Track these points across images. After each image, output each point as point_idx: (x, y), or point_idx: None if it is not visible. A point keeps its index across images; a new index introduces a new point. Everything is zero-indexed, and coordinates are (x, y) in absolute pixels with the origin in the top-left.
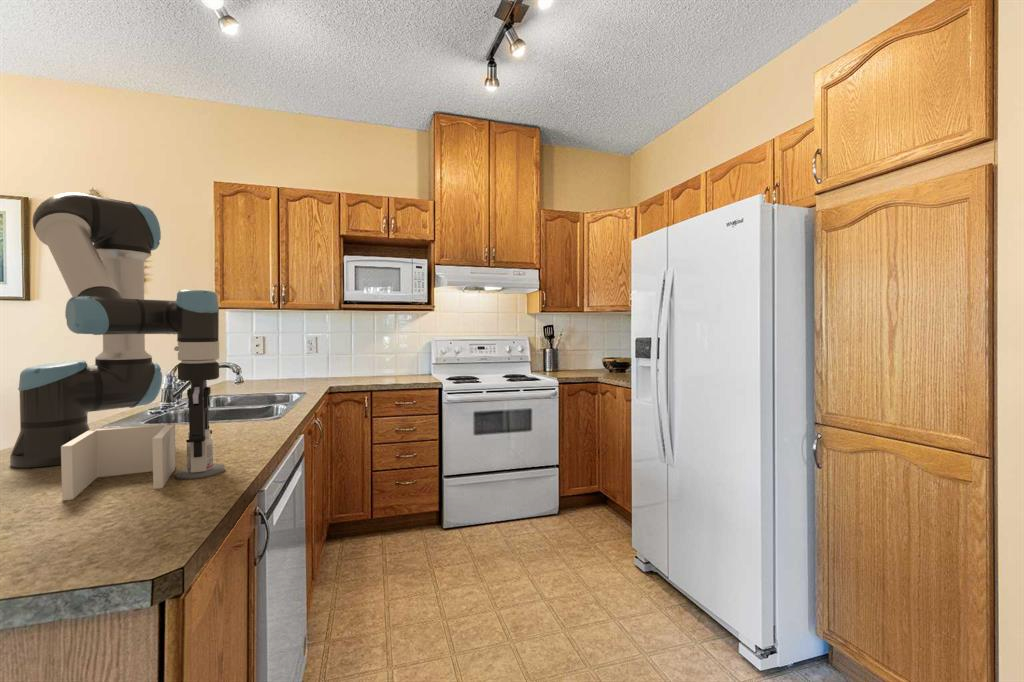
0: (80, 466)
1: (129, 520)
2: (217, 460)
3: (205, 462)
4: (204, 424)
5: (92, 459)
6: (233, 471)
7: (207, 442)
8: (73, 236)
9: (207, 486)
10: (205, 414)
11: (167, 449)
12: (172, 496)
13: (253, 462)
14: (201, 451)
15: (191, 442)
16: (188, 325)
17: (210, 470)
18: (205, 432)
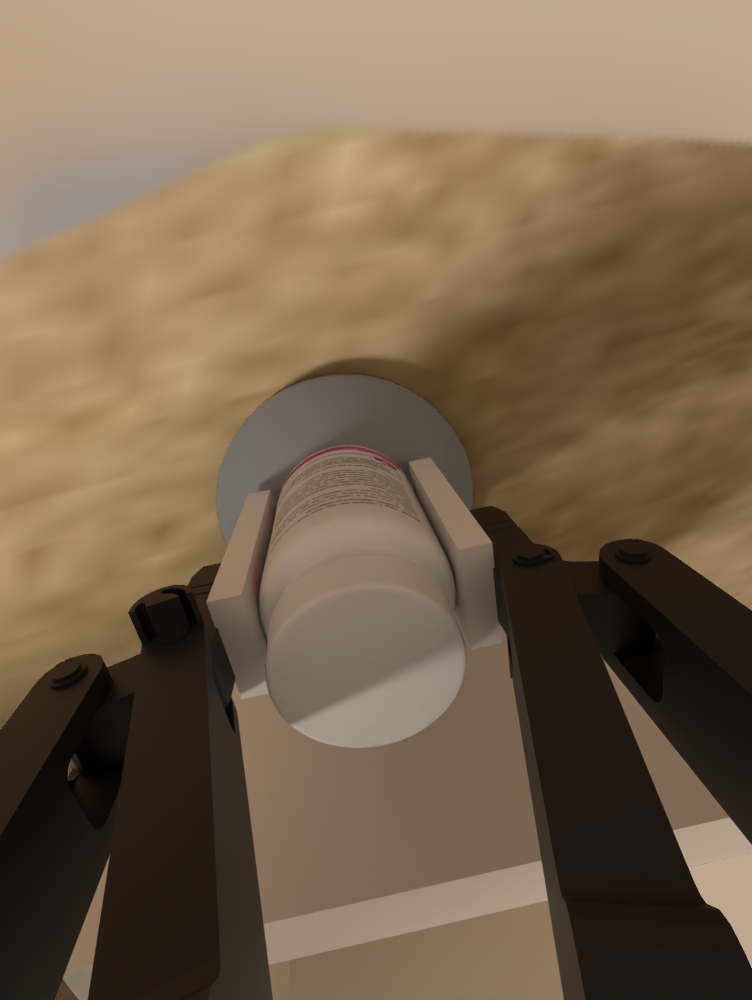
0: (523, 935)
1: None
2: (43, 491)
3: (441, 476)
4: (585, 652)
5: (355, 961)
6: (362, 307)
7: (422, 533)
8: None
9: (633, 380)
10: (218, 828)
11: (464, 734)
12: (718, 494)
13: (134, 206)
14: (513, 522)
15: (499, 634)
16: None
17: (392, 441)
18: (434, 601)
